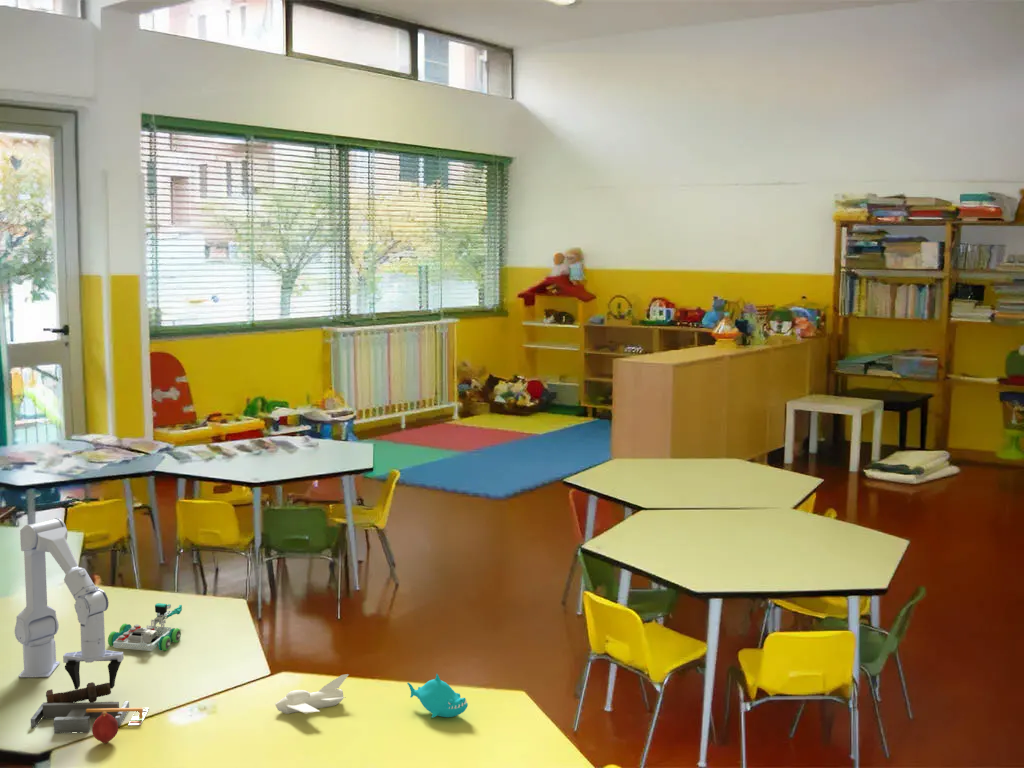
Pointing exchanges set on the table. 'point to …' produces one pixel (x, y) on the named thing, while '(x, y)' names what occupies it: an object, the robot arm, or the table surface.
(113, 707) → the grey bar with rod
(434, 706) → the toy shark
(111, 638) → the robot kit
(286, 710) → the airplane model
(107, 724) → the onion
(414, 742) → the table surface
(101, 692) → the bolt
